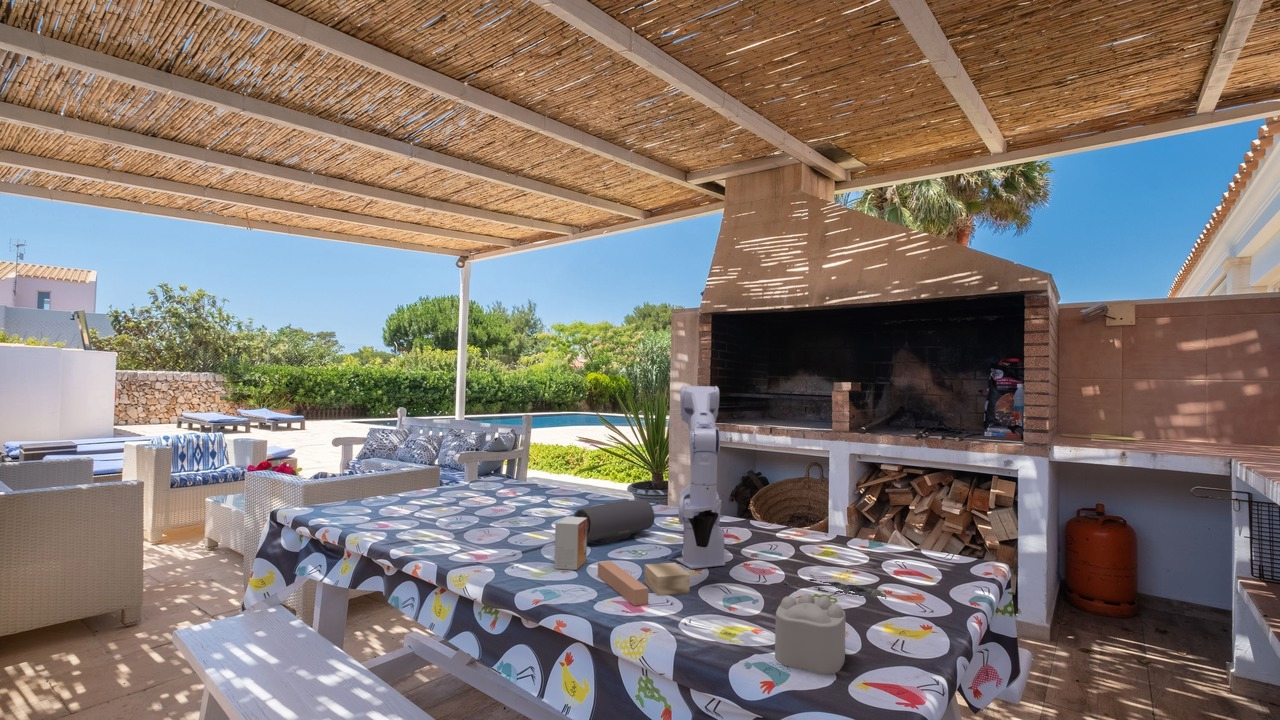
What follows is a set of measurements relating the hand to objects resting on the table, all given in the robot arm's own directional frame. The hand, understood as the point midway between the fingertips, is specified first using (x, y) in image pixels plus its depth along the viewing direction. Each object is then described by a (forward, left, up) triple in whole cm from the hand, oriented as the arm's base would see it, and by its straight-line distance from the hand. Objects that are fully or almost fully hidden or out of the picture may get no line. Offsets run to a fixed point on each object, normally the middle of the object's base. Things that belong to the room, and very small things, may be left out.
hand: (702, 546), depth 138 cm
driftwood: (-26, +13, -9) cm, 30 cm away
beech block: (+8, 0, -8) cm, 12 cm away
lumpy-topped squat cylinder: (+1, +38, -8) cm, 39 cm away
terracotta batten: (+18, -2, -8) cm, 20 cm away
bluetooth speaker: (+3, -42, -8) cm, 43 cm away
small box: (+22, -22, -8) cm, 33 cm away
